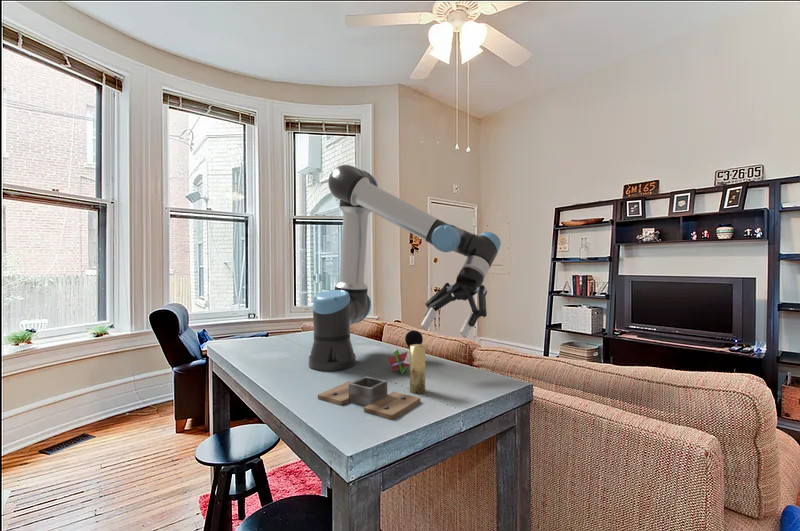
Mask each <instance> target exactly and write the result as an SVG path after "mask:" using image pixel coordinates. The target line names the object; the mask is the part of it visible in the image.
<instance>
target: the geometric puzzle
mask: <svg viewBox="0 0 800 531" xmlns="http://www.w3.org/2000/svg"><path fill="white" fill-rule="evenodd" d="M392 355H393V356H389V357H387V358H386V359H387V360H388V361H387V362H388V363H389V367H390V368H391V371H392V372H394V373H395V372H396V371H397V372H398V373H399V374H401V375H403V374H404V373H405V372H406V370H408V369H409V367H410V352H408V351H401V350H400V349H396V351H394V352H393V353H392Z"/></svg>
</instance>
